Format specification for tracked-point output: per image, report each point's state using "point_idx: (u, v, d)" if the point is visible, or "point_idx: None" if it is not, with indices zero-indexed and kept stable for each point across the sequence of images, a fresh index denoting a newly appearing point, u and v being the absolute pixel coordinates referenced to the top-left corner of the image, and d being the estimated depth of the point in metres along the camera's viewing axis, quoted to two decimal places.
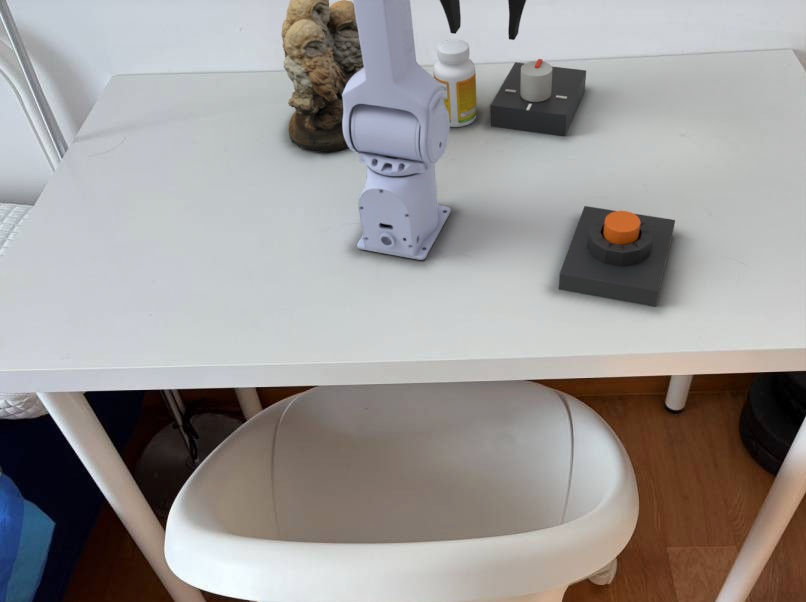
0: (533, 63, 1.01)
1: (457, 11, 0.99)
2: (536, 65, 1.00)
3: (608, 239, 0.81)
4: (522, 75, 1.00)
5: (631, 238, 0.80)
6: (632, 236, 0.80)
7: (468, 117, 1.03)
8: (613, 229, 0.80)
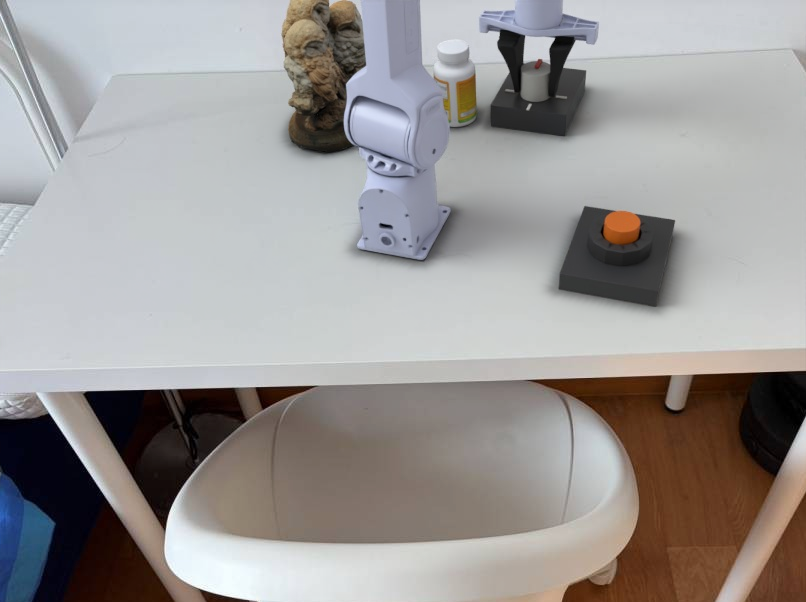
0: (533, 63, 1.01)
1: None
2: (536, 65, 1.00)
3: (608, 239, 0.81)
4: (522, 75, 1.00)
5: (631, 238, 0.80)
6: (632, 236, 0.80)
7: (468, 117, 1.03)
8: (613, 229, 0.80)
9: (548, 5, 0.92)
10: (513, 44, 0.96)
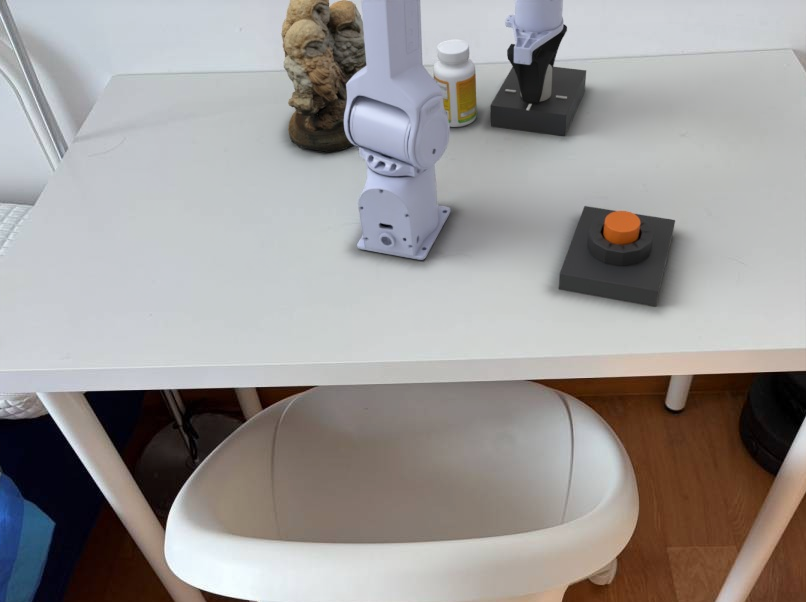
0: None
1: None
2: None
3: (608, 239, 0.81)
4: None
5: (631, 238, 0.80)
6: (632, 236, 0.80)
7: (468, 117, 1.03)
8: (613, 229, 0.80)
9: None
10: (549, 51, 0.95)
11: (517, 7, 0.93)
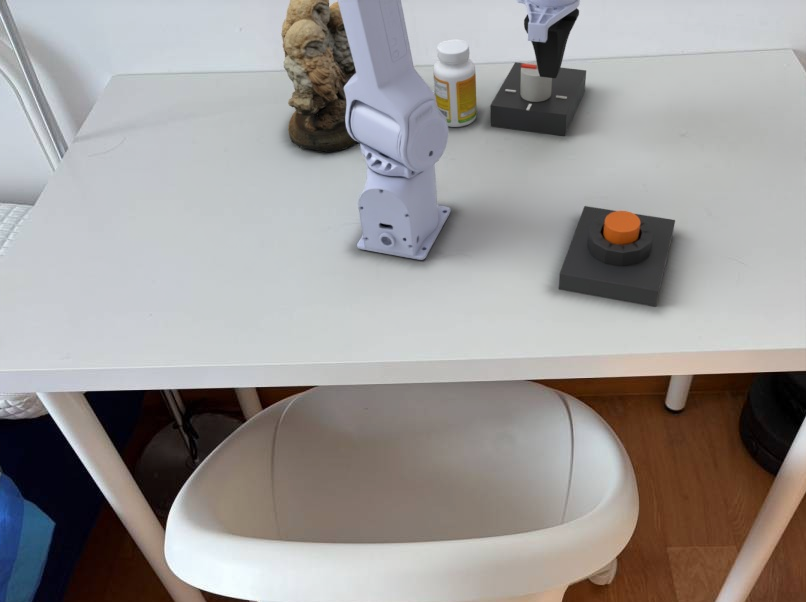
0: (526, 69, 1.00)
1: None
2: (535, 66, 1.00)
3: (608, 239, 0.81)
4: (543, 78, 0.99)
5: (631, 238, 0.80)
6: (632, 236, 0.80)
7: (468, 117, 1.03)
8: (613, 229, 0.80)
9: None
10: (569, 20, 0.89)
11: None
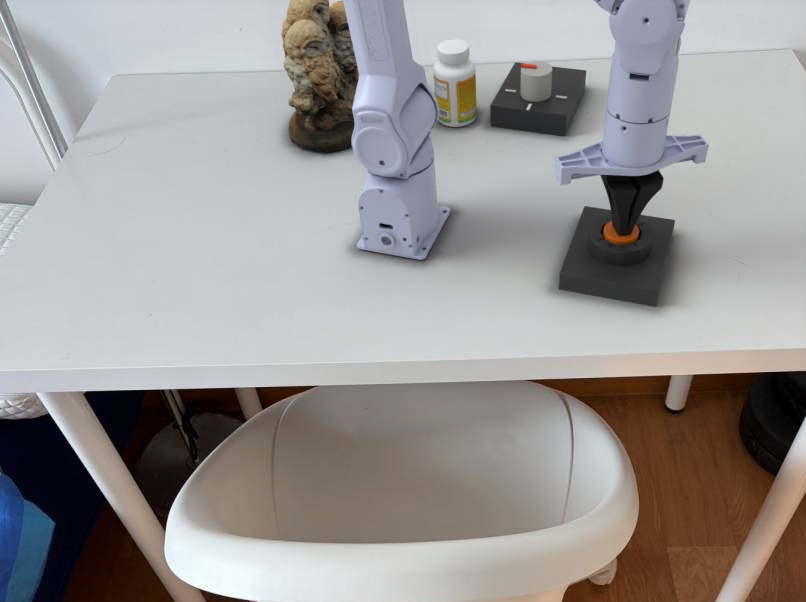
0: (526, 69, 1.00)
1: None
2: (535, 66, 1.00)
3: None
4: (543, 78, 0.99)
5: None
6: None
7: (468, 117, 1.03)
8: (612, 238, 0.80)
9: (663, 134, 0.71)
10: (632, 185, 0.75)
11: None
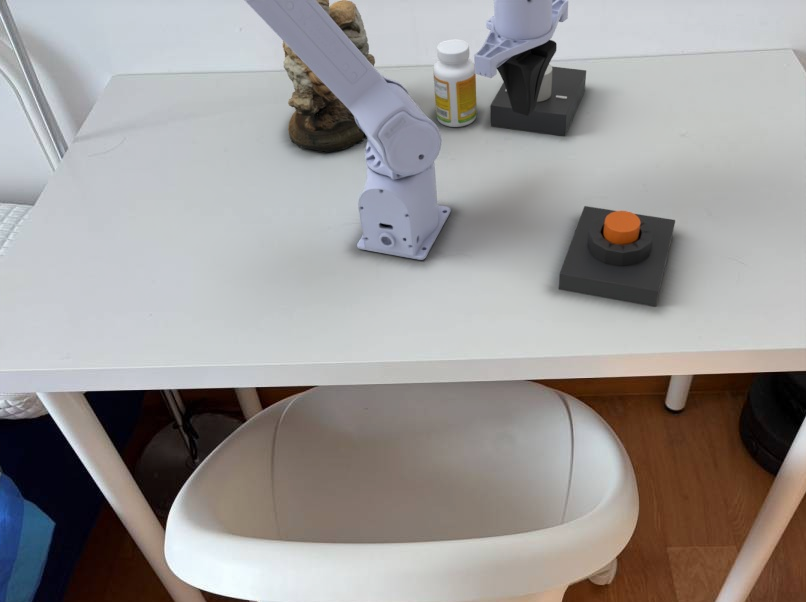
0: None
1: None
2: None
3: (608, 239, 0.81)
4: (543, 78, 0.99)
5: (631, 238, 0.80)
6: (632, 236, 0.80)
7: (468, 117, 1.03)
8: (613, 229, 0.80)
9: None
10: (538, 55, 0.80)
11: (494, 7, 0.77)
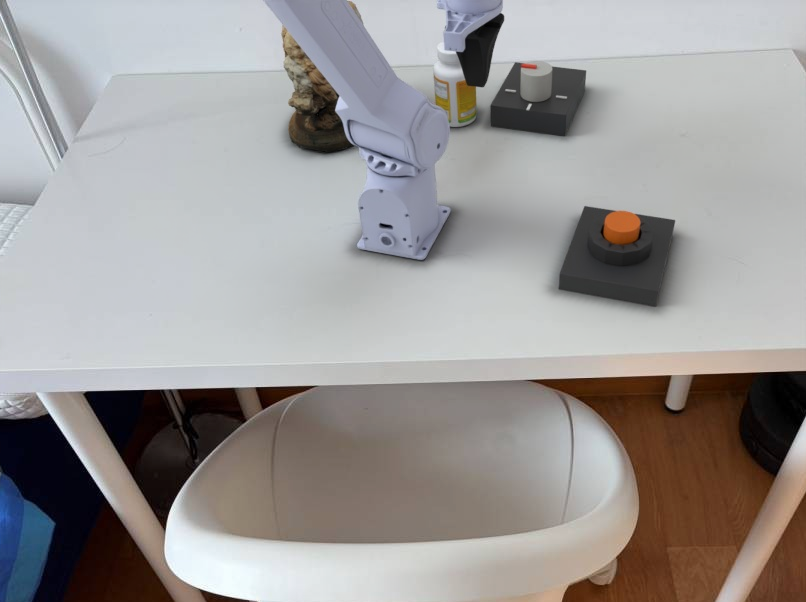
0: (526, 69, 1.00)
1: None
2: (535, 66, 1.00)
3: (608, 239, 0.81)
4: (543, 78, 0.99)
5: (631, 238, 0.80)
6: (632, 236, 0.80)
7: (468, 117, 1.03)
8: (613, 229, 0.80)
9: None
10: (492, 27, 0.84)
11: None
